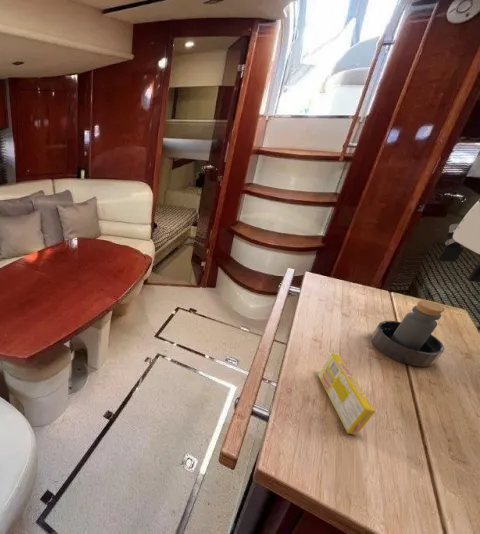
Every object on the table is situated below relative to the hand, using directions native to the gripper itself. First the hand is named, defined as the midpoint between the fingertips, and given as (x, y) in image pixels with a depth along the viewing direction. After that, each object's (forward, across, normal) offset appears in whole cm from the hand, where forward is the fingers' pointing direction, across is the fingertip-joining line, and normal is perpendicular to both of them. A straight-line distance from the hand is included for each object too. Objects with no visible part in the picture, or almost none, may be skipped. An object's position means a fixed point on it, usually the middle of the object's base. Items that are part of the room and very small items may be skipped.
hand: (460, 270), depth 72 cm
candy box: (+26, -24, +26) cm, 44 cm away
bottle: (+26, 0, +2) cm, 26 cm away
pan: (+26, 0, +2) cm, 26 cm away
